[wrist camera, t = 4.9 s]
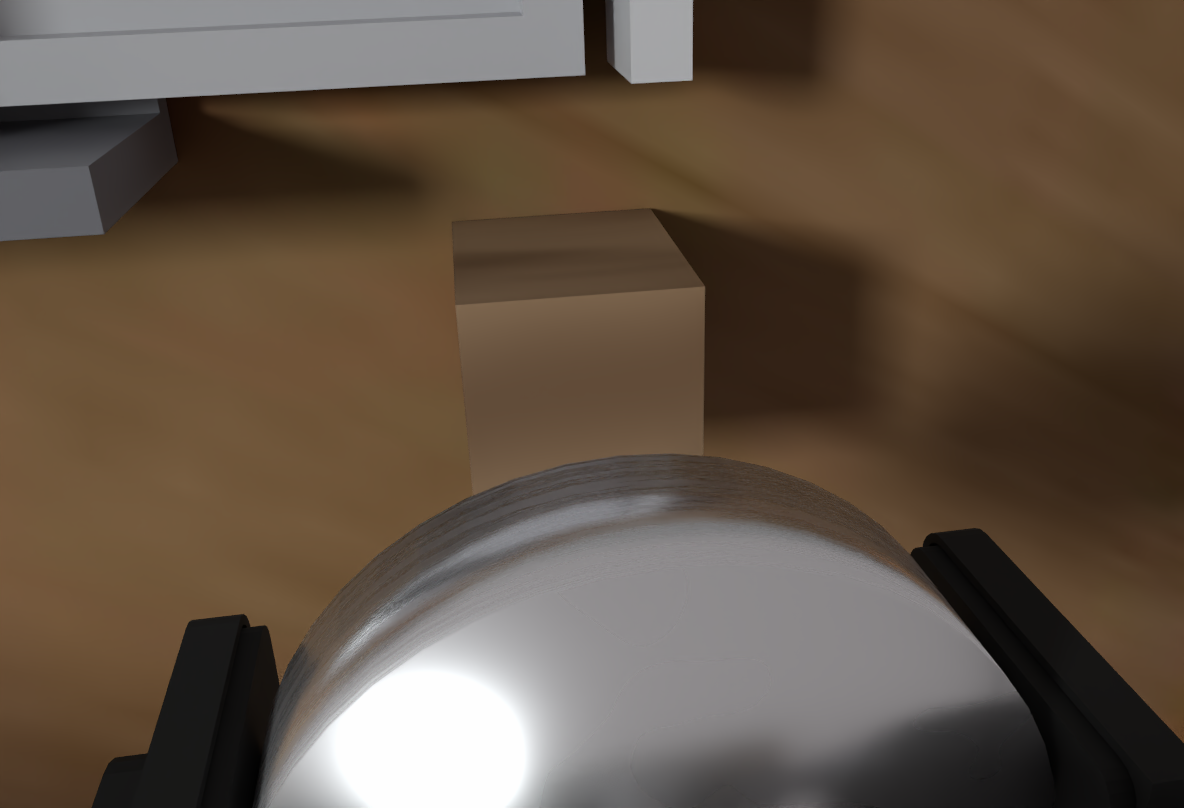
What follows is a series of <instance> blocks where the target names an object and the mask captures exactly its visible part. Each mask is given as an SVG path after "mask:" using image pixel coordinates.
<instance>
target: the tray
mask: <svg viewBox="0 0 1184 808" xmlns="http://www.w3.org/2000/svg"><path fill="white" fill-rule="evenodd" d="M605 5H606V42H607V62H608V63H609V64H611V65H612V66H613V67H614V68H615V69H616V70H617V71H618V72H619V73H620V74H621V75H623V76H624V77H625V78H626V79H627V80H628V81H629V82H630V83H631V84H634V83H652V82H670V81H689V80H692V71H693V0H605ZM579 75H585V52H584V24H583V0H0V107H4V106H22V105H41V104H59V103H78V102H97V101H115V100H134V99H152V98H171V97H189V96H208V95H227V94H245V93H264V92H282V91H301V90H319V89H338V88H356V87H375V86H394V85H412V84H431V83H449V82H468V81H486V80H505V79H523V78H542V77H561V76H579Z"/></svg>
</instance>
